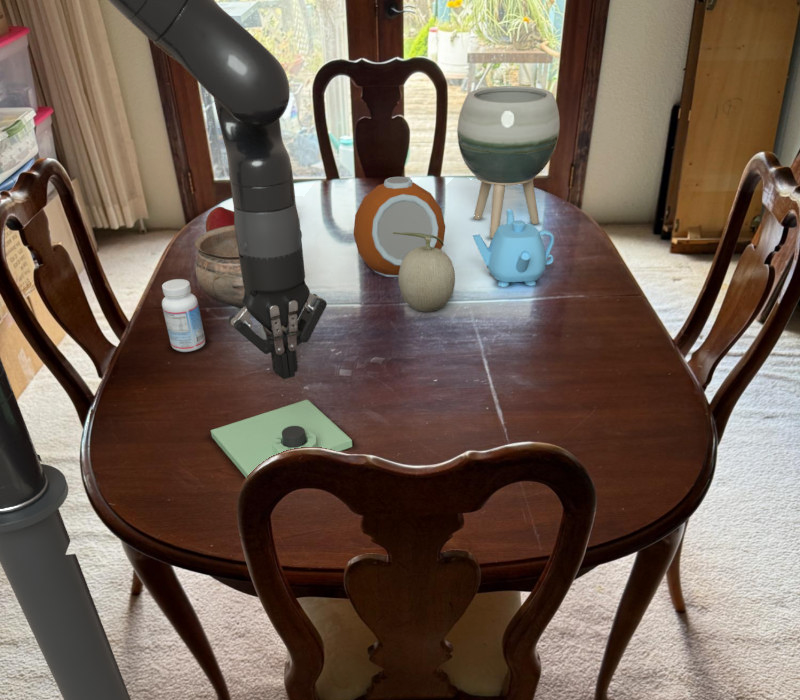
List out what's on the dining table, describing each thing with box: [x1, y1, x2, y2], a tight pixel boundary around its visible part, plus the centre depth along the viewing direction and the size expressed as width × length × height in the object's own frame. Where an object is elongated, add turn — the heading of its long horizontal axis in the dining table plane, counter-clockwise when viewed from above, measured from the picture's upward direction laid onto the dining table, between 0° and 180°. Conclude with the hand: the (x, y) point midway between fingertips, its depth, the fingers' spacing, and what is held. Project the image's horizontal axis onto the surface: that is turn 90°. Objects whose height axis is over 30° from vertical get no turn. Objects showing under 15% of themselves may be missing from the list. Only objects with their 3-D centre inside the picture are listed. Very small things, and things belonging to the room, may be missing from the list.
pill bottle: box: [161, 278, 206, 353], centre depth 135 cm, size 6×6×11 cm
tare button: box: [282, 426, 306, 448], centre depth 108 cm, size 3×3×2 cm
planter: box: [456, 85, 561, 239], centre depth 175 cm, size 22×22×28 cm
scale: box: [210, 399, 353, 479], centre depth 113 cm, size 16×15×3 cm
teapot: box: [472, 208, 555, 288], centre depth 156 cm, size 15×14×11 cm
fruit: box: [393, 232, 456, 313], centre depth 145 cm, size 10×12×15 cm
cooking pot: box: [194, 225, 245, 310], centre depth 149 cm, size 25×19×12 cm
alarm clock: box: [353, 176, 446, 278], centre depth 161 cm, size 19×18×17 cm
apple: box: [205, 206, 234, 233], centre depth 176 cm, size 8×8×8 cm
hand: (286, 375), depth 102 cm, fingers closed
